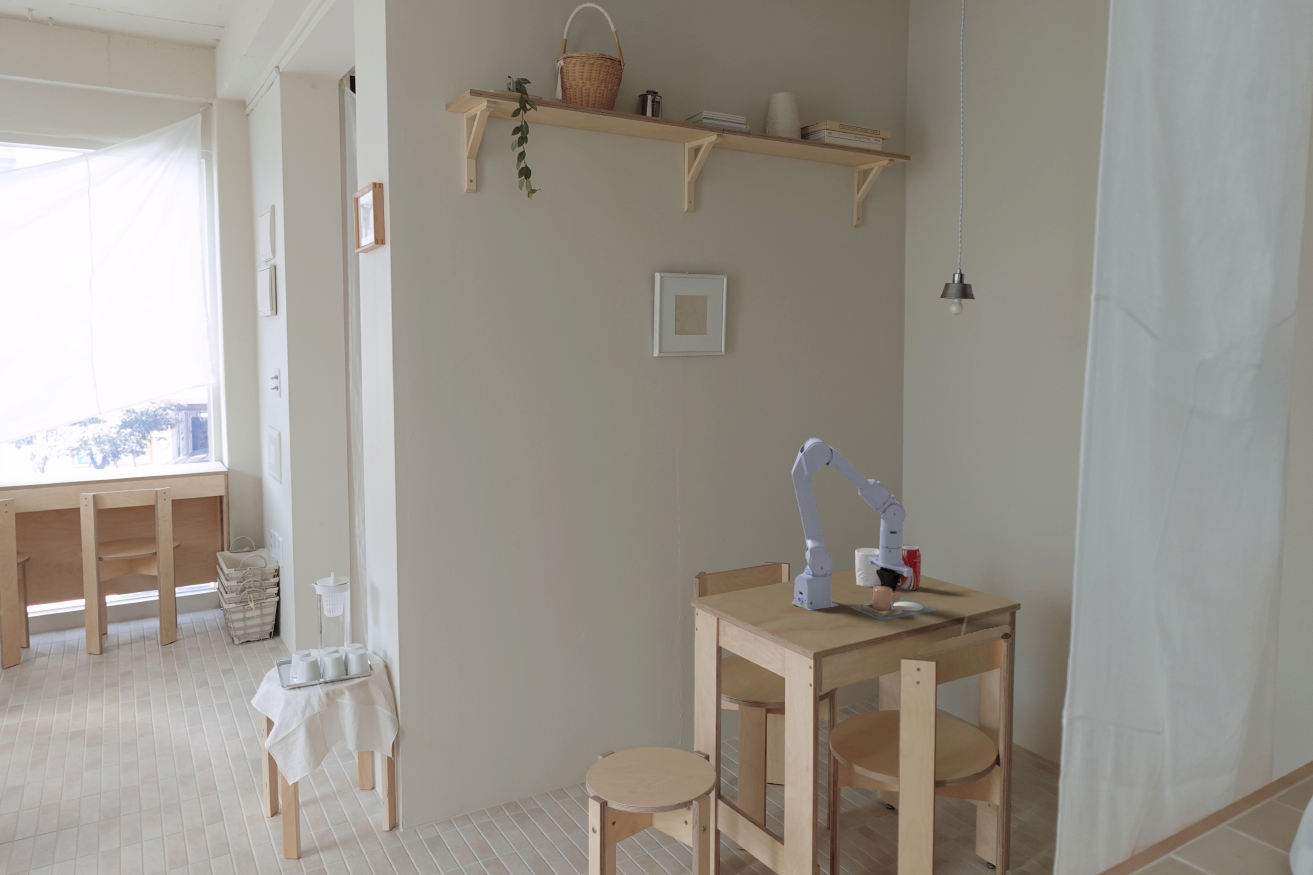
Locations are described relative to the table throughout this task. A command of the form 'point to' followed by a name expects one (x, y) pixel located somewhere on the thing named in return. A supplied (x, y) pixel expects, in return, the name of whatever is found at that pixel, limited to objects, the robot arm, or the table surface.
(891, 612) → the cradle
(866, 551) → the white cup
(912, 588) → the soda can
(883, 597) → the pink rounded handled piece
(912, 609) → the board
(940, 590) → the table surface
